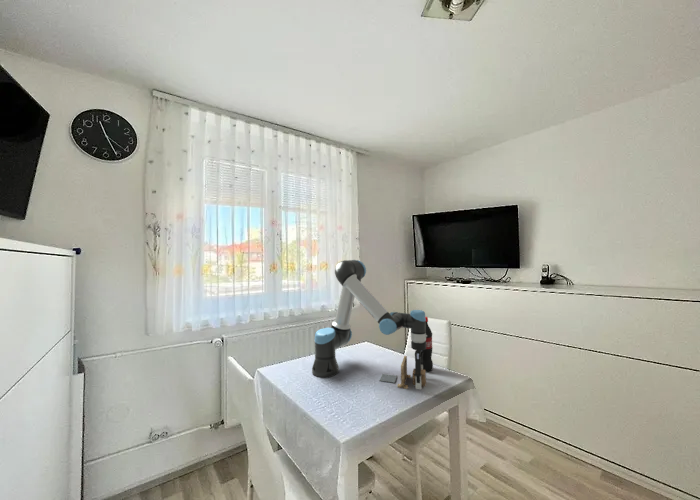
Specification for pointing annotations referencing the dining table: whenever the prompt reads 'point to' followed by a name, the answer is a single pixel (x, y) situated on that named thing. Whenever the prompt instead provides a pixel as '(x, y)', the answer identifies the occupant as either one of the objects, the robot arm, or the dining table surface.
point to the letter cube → (423, 377)
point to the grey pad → (388, 378)
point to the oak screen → (404, 374)
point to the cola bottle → (428, 349)
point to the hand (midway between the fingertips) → (419, 382)
